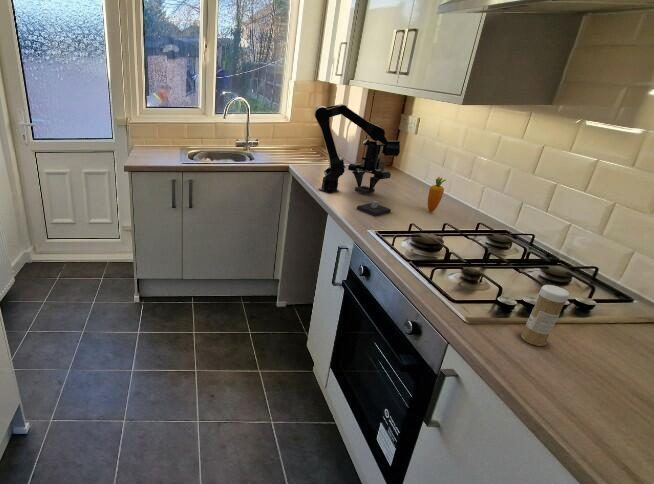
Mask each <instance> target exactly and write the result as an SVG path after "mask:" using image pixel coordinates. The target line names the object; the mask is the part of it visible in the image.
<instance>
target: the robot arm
mask: <svg viewBox="0 0 654 484" xmlns="http://www.w3.org/2000/svg"><path fill="white" fill-rule="evenodd" d="M313 115H314V118H315V120H316V122H317V124H318V126H319V127H320V131H321V134H322V137H323V142H324V144H325V145H324V146H325V148H326V151H327V155H328V167H327V168H326V169H324V171H323V174H324V176H323V177H322V181H321V182H322V183H321V187H320V188H318V191H320V192H321V191H322V192H325V193H327V194H333V193H339V191H340V190H339V189H338V187H339V178H340V177H342V176H343V175H344V173H345V171H346V170H345V169H346V165H345V162H344V161H345V160H344V158H343V157H342V156H339V155H338V151H337V148H336V143H335V141H334V136H333V133H332V130H331V125H330V122H331V120H330V118H333V117H336V116H340V115H341V116H343V117H345V118H346V119H347V120H348V121H350V122H352V123H353V124H354V125H356V126H357V127H359V128H360V129H361V130H362V131H363V132H364V133H365V134H366V136H368V137H369V138H370V139H371V140H369V139H368V138H366V139H364V141H362V145H363V146H366V148H365V153H364V156H362V157H361V160H363V162H362V163H359V162H353V163H350V164H348V166H347V170H348V171H351V172H352V174H353V176H354V179H355V181H356V185H357V187H360V186H362V184H363V179H364V175H365V174H366V173H368V174H371V175H373V176H370V177H369V186H368V187H369V189H370V191H372V190H373V189H375V186H376V185H377V184H378V182H379V181H380V180H386V179H391V175H392V173H391V172H390V170H386V169H385V168H386V166H387V163H385V162H383V161H381V157H380V154H381V155H382V156H383V157H396V158H397V157H398V156H399V155H400V153H401V141H400V140H388V139H387V138H386V136H385V135H386V130H385V129H384V128H383V127H381V126H380V125H378V124H375V123H373V122H371V121H368V120H366V119H365V118H364V117H362V116H360V115H359V114H358V113H356V112H355V111H353V110H352V109H351V108H349V107H348V106H347V105H346V104H345V103H339V104H335V105H327V106H324V105H319V106H317V107H315V108H314V111H313Z"/></svg>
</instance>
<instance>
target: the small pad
mask: <svg viewBox="0 0 654 484" xmlns="http://www.w3.org/2000/svg"><path fill="white" fill-rule="evenodd" d="M369 187H370V186H366V185H361V186H360V187H358V186H356V187H354V192H358V193H360V194H363V195H369V194H375V191H376V189H375V188H373V190H372V191H370V189H369Z"/></svg>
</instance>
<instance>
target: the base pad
mask: <svg viewBox="0 0 654 484" xmlns="http://www.w3.org/2000/svg"><path fill="white" fill-rule="evenodd" d="M379 203H380V202H379V201H377V200H372V201H371V202H368V203H364V204H359V205H357V206H356V210H357V211H360V212H363V213H366V214H368V215H371V216H373V217H378V216H382V215H385V214H390V213H391V211H392V208H388V207H386V206H383V205H380V204H379Z"/></svg>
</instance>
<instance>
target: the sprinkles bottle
mask: <svg viewBox="0 0 654 484" xmlns="http://www.w3.org/2000/svg"><path fill="white" fill-rule="evenodd" d="M538 294H539V295H538V297H537V300H536V302H535V305H534V307H532V310H531V313H530V315H529V317H528V319H527V321H526V323H525V324H526V325H525V326H524V329H523V332H521V334H520V337H521V339H522V340H523V341H524V342H526V343H528V344H530V345H532V346H533V345H534V346H537V347H544V346H545V345H547V341H548V339H549V336H550V335H551V333H552V331H553V330H554V327H555V325H556V323H557V321H558V319H559V317H560V315H561V312H562V309H563V308H564V305H565V304H566V303H567V302H568V300H569V297H570V292H569V291H568V290H567V289H565V288H562V287H561V286H557V285H553V284H545V285H542V286H541V288H540V290H539V293H538Z"/></svg>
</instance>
